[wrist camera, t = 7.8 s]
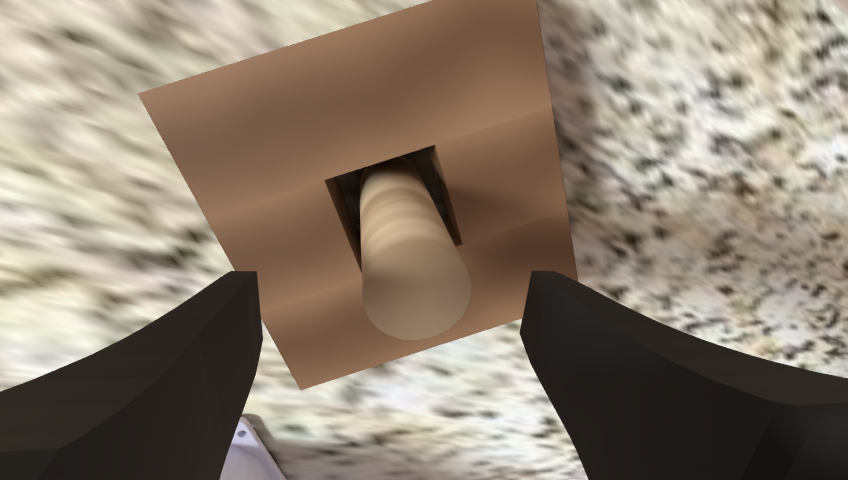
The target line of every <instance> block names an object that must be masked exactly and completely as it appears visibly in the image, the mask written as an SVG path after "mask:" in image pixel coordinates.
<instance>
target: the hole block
mask: <svg viewBox="0 0 848 480" xmlns="http://www.w3.org/2000/svg"><path fill="white" fill-rule="evenodd" d="M138 95H139V97H140V99H141V101H142V103H143V104H144V106H145V108H146V110H147V112H148V114H149V115H150V117H151V119H152V121H153V123H154V124H155V126H156V128H157V130H158V132H159V134H160V135H161V137H162V139H163V141H164V143H165V144H166V146H167V148H168V150H169V152H170V154H171V155H172V157H173V159H174V161H175V163H176V164H177V166H178V168H179V170H180V172H181V174H182V175H183V177H184V179H185V181H186V183H187V184H188V186H189V188H190V190H191V192H192V194H193V195H194V197H195V199H196V201H197V203H198V204H199V206H200V208H201V210H202V212H203V214H204V215H205V217H206V219H207V221H208V223H209V224H210V226H211V228H212V230H213V232H214V234H215V235H216V237H217V239H218V241H219V243H220V244H221V246H222V248H223V250H224V252H225V254H226V255H227V257H228V259H229V261H230V263H231V264H232V266H233V268H234V270H235V271H257V278H258V289H259V301H260V312H261V319H262V321H263V323H264V324H265V326H266V328H267V330H268V332H269V333H270V335H271V337H272V339H273V341H274V343H275V344H276V346H277V348H278V350H279V352H280V353H281V355H282V357H283V359H284V361H285V363H286V364H287V366H288V368H289V370H290V372H291V373H292V375H293V377H294V379H295V381H296V383H297V384H298V386H299V388H300V390H303V389H306V388H309V387H312V386H315V385H318V384H321V383H325V382H328V381H331V380H334V379H337V378H340V377H343V376H346V375H349V374H352V373H355V372H358V371H361V370H365V369H368V368H371V367H374V366H377V365H380V364H383V363H386V362H389V361H392V360H395V359H398V358H401V357H404V356H408V355H411V354H414V353H417V352H420V351H423V350H426V349H429V348H432V347H435V346H438V345H441V344H444V343H448V342H451V341H454V340H457V339H460V338H463V337H466V336H469V335H472V334H475V333H478V332H481V331H484V330H487V329H491V328H494V327H497V326H500V325H503V324H506V323H509V322H512V321H515V320H518V319H521V318H523V313H524V308H525V303H526V298H527V293H528V287H529V282H530V277H531V272H532V271H555V272H558V273H560V274H563V275H565V276H567V277H569V278H571V279H573V280H575V281H577V282H578V278H577V271H576V264H575V258H574V251H573V244H572V238H571V231H570V224H569V218H568V211H567V204H566V198H565V191H564V184H563V177H562V171H561V164H560V157H559V151H558V144H557V137H556V131H555V124H554V117H553V111H552V104H551V97H550V90H549V84H548V77H547V70H546V64H545V57H544V50H543V44H542V37H541V30H540V24H539V17H538V10H537V4H536V0H432V1H429V2H426V3H423V4H419V5H416V6H413V7H410V8H407V9H404V10H400V11H397V12H394V13H391V14H388V15H385V16H382V17H378V18H375V19H372V20H369V21H366V22H363V23H359V24H356V25H353V26H350V27H347V28H344V29H340V30H337V31H334V32H331V33H328V34H325V35H321V36H318V37H315V38H312V39H309V40H306V41H303V42H299V43H296V44H293V45H290V46H287V47H284V48H280V49H277V50H274V51H271V52H268V53H265V54H261V55H258V56H255V57H252V58H249V59H246V60H242V61H239V62H236V63H233V64H230V65H227V66H224V67H220V68H217V69H214V70H211V71H208V72H205V73H201V74H198V75H195V76H192V77H189V78H186V79H182V80H179V81H176V82H173V83H170V84H167V85H163V86H160V87H157V88H154V89H151V90H148V91H145V92H141V93H138ZM426 147H428V149H429V153H430V156H431V160H432V163H433V167H434V170H435V174H436V177H437V181H438V184H439V188H440V191H441V195H442V198H443V202H444V206H445V209H446V213H447V216H444V217H441V219H442V221H443V223H444V225H445V227H446V229H447V231H448V233H449V235H450V237H451V239H452V241H453V243H454V245H455V247H456V249H457V251H458V253H459V255H460V257H461V259H462V261H463V263H464V265H465V268H466V270H467V272H468V274H469V277H470V281H471V297H470V301H469V304H468V307H467V309H466V311H465V312H464V314H463V315H462V317H461V318H460V319H459V320H458V321H457V322H456V324H454V325H453V326H452V327H451V328H449V329H448V330H446V331H445V332H443V333H441V334H439V335H437V336H434V337H431V338H427V339H422V340H404V339H398V338H395V337H392V336H390V335H387V334H386V333H384V332H382V331H381V330H379V329H378V328H377V327H376V326H375V325H374V324H373V323H372V322H371V320H370V319H369V318H368V316H367V314H366V312H365V309H364V305H363V296H362V260H361V240H360V237H359V234H358V232H357V229H356V227H355V224H354V222H353V219H352V216H351V214H350V211H349V209H348V206H347V204H346V201H345V198H344V196H343V193H342V191H341V188H340V186H339V183H338V180H337V178H336V176H339V175H342V174H345V173H348V172H351V171H354V170H357V169H360V168H364V167H367V166H370V165H373V164H376V163H379V162H382V161H385V160H389V159H392V158H395V157H398V156H401V155H404V154H407V153H410V152H414V151H417V150H420V149H423V148H426Z"/></svg>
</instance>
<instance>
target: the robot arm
mask: <svg viewBox="0 0 848 480" xmlns="http://www.w3.org/2000/svg"><path fill="white" fill-rule="evenodd" d="M520 335H521V338H522V341H523V344H524V347H525V350H526V353H527V355H528V358H529V360H530V363H531V365H532V367H533V369H534V371H535V373H536V375H537V377H538V379H539V381H540V382H541V384H542V386H543V388H544V390H545V392H546V394H547V395H548V397H549V399H550V401H551V403H552V405H553V406H554V408H555V410H556V412H557V414H558V416H559V417H560V419H561V421H562V423H563V425H564V427H565V428H566V430H567V432H568V434H569V436H570V438H571V440H572V442H573V444H574V446H575V448H576V450H577V453H578V455H579V458H580V460H581V462H582V465H583V467H584V470H585V472H586V475H587V477H588V479H589V480H848V378H843V377H838V376H833V375H828V374H823V373H818V372H813V371H809V370H805V369H801V368H797V367H793V366H789V365H785V364H781V363H777V362H773V361H769V360H766V359H762V358H759V357H755V356H751V355H748V354H745V353H742V352H739V351H735V350H732V349H729V348H726V347H723V346H720V345H717V344H714V343H711V342H708V341H705V340H702V339H699V338H697V337H694V336H692V335H689V334H687V333H684V332H681V331H679V330H676V329H674V328H671V327H669V326H666V325H664V324H662V323H659V322H657V321H655V320H653V319H651V318H649V317H646V316H644V315H642V314H640V313H638V312H636V311H634V310H632V309H630V308H627V307H625V306H623V305H621V304H619V303H618V302H616V301H614V300H612V299H610V298H608V297H606V296H604V295H602V294H600V293H598V292H596V291H594V290H593V289H591V288H589V287H587V286H585V285H583V284H581V283H579V282H577V281H575V280H573V279H571V278H569V277H567V276H565V275H563V274H560V273H558V272H555V271H532V272H531V277H530V282H529V287H528V293H527V298H526V303H525V308H524V313H523V318H522V324H521V329H520ZM262 341H263V335H262V324H261V312H260V301H259V289H258V278H257V271H230V272H229V273H227V274H225V275H223V276H222V277H220V278H219V279H217V280H216V281H215V282H213V283H212V284H210V285H209V286H207V287H206V288H204V289H203V290H202V291H200V292H199V293H197V294H196V295H194V296H193V297H191V298H190V299H188V300H187V301H185V302H184V303H182V304H181V305H179V306H178V307H176V308H175V309H173V310H171V311H170V312H168V313H167V314H165V315H163V316H162V317H160V318H158V319H157V320H155V321H153V322H152V323H150V324H149V325H147V326H145V327H144V328H142V329H140V330H138V331H137V332H135V333H133V334H131V335H129V336H128V337H126V338H124V339H122V340H120V341H118V342H116V343H114V344H112V345H110V346H108V347H106V348H104V349H102V350H100V351H98V352H96V353H94V354H92V355H90V356H87V357H85V358H83V359H81V360H78V361H76V362H74V363H71V364H69V365H66V366H64V367H62V368H59V369H57V370H55V371H52V372H50V373H47V374H45V375H43V376H40V377H38V378H36V379H33V380H31V381H28V382H25V383H23V384H20V385H17V386H14V387H12V388H9V389H6V390H4V391H1V392H0V480H286V478H285V477H284V475H283V474H282V472H281V471H280V469H279V468H278V466H277V465H276V463H275V461H274V460H273V458H272V457H271V455H270V454H269V452H268V451H267V449H266V448H265V446H264V445H263V443H262V441H261V440H260V438H259V437H258V435H257V434H256V432H255V431H254V429H253V428H252V426H251V425H250V423H249V421H248V420H247V419H246V418H244V417H241V415H242V412H243V409H244V406H245V403H246V401H247V398H248V395H249V392H250V389H251V386H252V384H253V381H254V378H255V375H256V371H257V366H258V361H259V357H260V352H261V346H262ZM242 430H243V431H245V432H242Z"/></svg>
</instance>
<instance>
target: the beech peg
mask: <svg viewBox="0 0 848 480" xmlns="http://www.w3.org/2000/svg"><path fill="white" fill-rule="evenodd" d="M359 187H360V224H361V260H362V296H363V305H364V309H365V312H366V314H367V316H368V318H369V319H370V320H371V322H372V323H373V324H374V325H375V326H376V327H377V328H378V329H379V330H381V331H382V332H384V333H386V334H387V335H390V336H392V337H395V338H398V339H404V340H422V339H427V338H431V337H434V336H437V335H439V334H441V333H443V332H445V331H446V330H448V329H449V328H451V327H452V326H453V325H454V324H456V322H457V321H458V320H459V319H460V318H461V317H462V315H463V314H464V312H465V311H466V309H467V307H468V304H469V301H470V297H471V281H470V277H469V274H468V272H467V270H466V268H465V265H464V263H463V261H462V259H461V257H460V255H459V253H458V251H457V249H456V247H455V245H454V243H453V241H452V239H451V237H450V235H449V233H448V231H447V229H446V227H445V225H444V223H443V221H442V219H441V217H440V214H439V212H438V210H437V208H436V206H435V204H434V202H433V200H432V198H431V196H430V194H429V192H428V190H427V188H426V186H425V184H424V182H423V180H422V178H421V176H420V174H419V172H418V170H417V169H416V167H415V166H414V165H413V164H412V163H411V162H409V161H408V160H406V159H404V158H401V157H395V158H392V159H389V160H385V161H382V162H379V163H376V164H373V165H370V166H367V167H366V169H365V170H364V172H363V173H362V176H361V179H360V185H359Z"/></svg>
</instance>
